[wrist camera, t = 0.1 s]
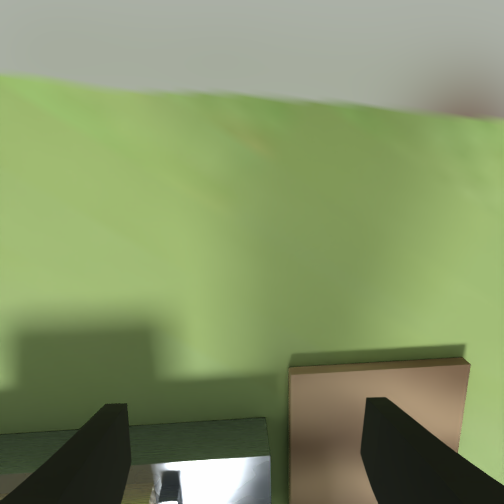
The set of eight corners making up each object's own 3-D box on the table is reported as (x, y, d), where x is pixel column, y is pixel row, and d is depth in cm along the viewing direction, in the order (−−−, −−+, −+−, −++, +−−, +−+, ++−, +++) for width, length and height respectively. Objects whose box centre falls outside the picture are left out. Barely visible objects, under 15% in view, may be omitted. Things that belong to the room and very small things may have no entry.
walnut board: (441, 506, 25) (448, 517, 24) (288, 519, 25) (290, 530, 24) (462, 357, 22) (470, 364, 21) (288, 367, 22) (290, 375, 21)
